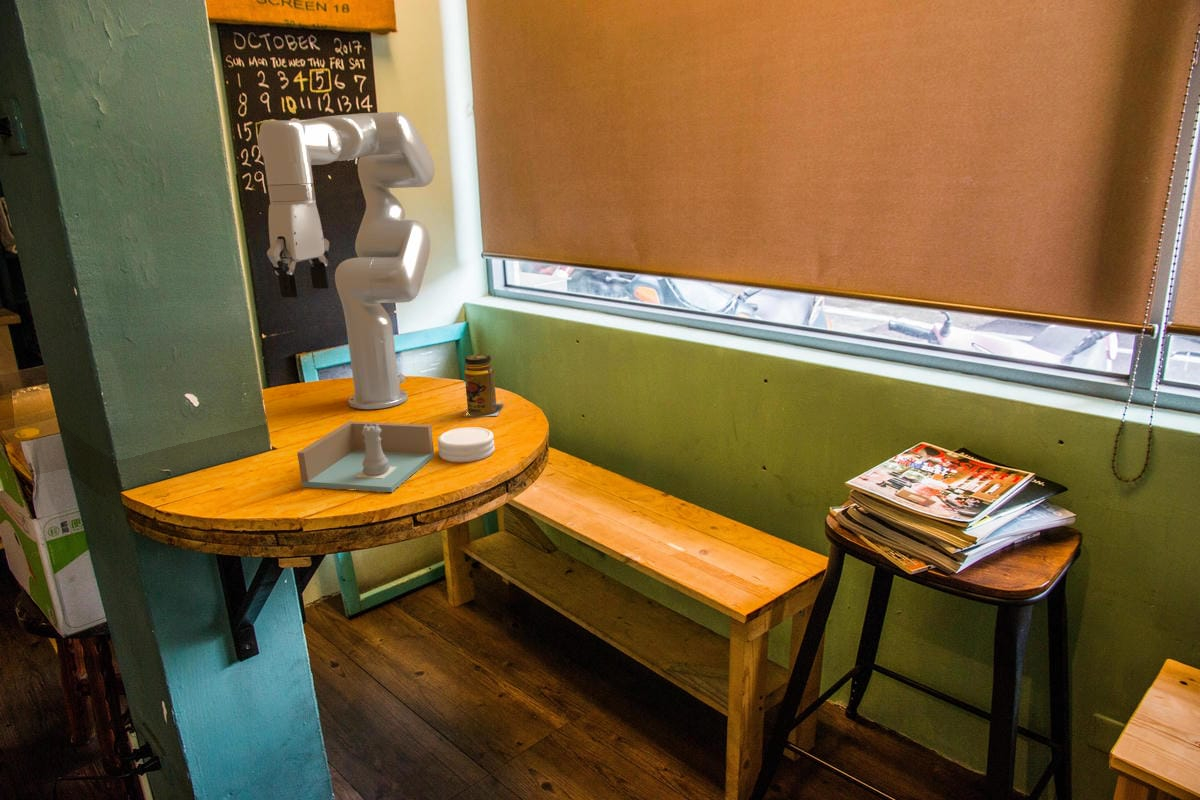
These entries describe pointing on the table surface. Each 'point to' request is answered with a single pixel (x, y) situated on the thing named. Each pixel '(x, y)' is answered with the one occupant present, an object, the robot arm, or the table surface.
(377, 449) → the rook chess piece
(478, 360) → the condiment
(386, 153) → the robot arm
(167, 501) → the table surface
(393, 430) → the corner arena
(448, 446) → the white round container
